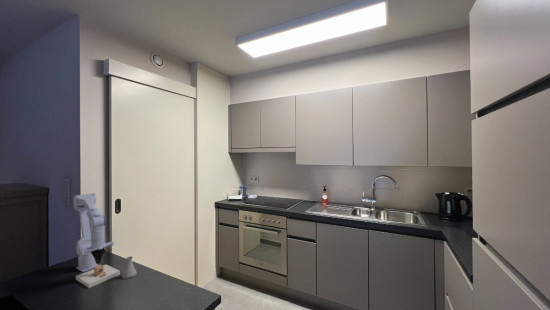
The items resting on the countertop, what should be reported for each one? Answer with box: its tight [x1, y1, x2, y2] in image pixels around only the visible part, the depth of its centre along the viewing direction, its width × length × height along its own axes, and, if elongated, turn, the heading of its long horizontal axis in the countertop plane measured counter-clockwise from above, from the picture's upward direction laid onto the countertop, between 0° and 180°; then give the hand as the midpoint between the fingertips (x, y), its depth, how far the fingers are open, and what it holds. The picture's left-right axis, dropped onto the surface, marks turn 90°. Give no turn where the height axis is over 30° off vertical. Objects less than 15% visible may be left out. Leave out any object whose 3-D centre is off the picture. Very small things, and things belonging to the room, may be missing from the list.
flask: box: [121, 256, 138, 280], centre depth 120 cm, size 7×7×10 cm
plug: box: [93, 264, 104, 277], centre depth 118 cm, size 5×3×6 cm, turn 61°
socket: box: [75, 264, 121, 289], centre depth 119 cm, size 16×14×2 cm
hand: (98, 263), depth 119 cm, fingers closed
